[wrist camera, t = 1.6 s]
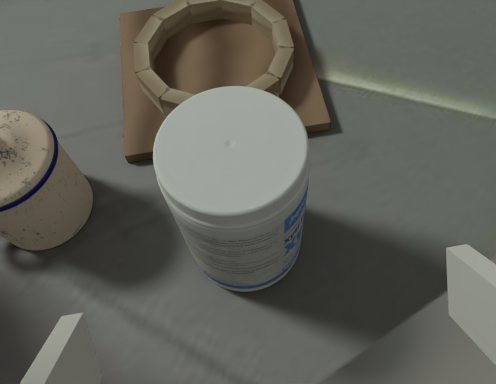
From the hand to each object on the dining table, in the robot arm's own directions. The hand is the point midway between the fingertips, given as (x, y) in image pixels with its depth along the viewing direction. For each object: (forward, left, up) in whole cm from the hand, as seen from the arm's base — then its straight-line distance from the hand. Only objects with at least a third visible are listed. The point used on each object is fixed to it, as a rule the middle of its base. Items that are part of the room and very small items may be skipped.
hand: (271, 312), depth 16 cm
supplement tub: (0, +11, -20) cm, 23 cm away
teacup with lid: (-19, +17, -20) cm, 33 cm away
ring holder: (0, +31, -20) cm, 37 cm away
